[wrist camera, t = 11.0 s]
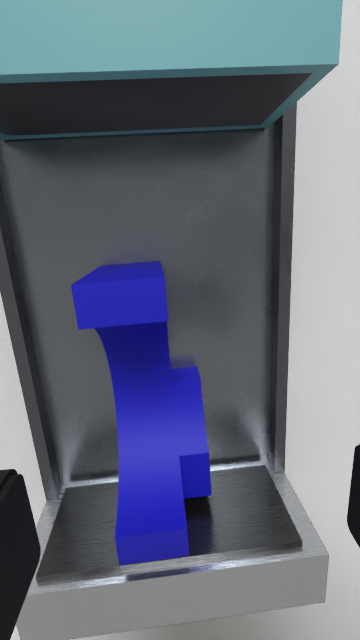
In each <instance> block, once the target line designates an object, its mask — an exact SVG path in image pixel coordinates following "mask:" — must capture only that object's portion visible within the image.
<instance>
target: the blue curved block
mask: <svg viewBox="0 0 360 640" xmlns="http://www.w3.org/2000/svg"><path fill="white" fill-rule="evenodd" d="M71 289H72V295H73V301H74V307H75V313H76V318H77V324H78V330H81V329H91V328H94V329H95V330H96V331H97V333H98V335H99V337H100V339H101V341H102V344H103V346H104V349H105V352H106V356H107V360H108V364H109V368H110V373H111V379H112V385H113V392H114V399H115V408H116V419H117V434H118V505H117V519H116V530H115V544H116V550H117V556H118V561H119V566H120V565H127V564H134V563H142V562H149V561H156V560H163V559H170V558H177V557H184V556H190V555H189V544H188V533H187V523H186V514H185V505H184V499H186V498H194V497H202V496H209V495H212V494H211V477H210V461H209V449H208V442H207V435H206V427H205V419H204V410H203V401H202V389H201V378H200V375H199V372H198V369H197V366H196V367H186V368H177V369H171V367H170V356H169V344H168V330H167V321H168V311H167V300H166V289H165V278H164V273H163V270H162V266H161V262H160V261H151V262H139V263H127V264H116V265H104V266H99V267H98V268H96V269H95V270H93V271H92V272H90V273H89V274H87V275H85V276H84V277H82V278H81V279H79V280H78V281H76V282H75V283H73V284H72V285H71Z"/></svg>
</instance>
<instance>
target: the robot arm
mask: <svg viewBox="0 0 360 640" xmlns="http://www.w3.org/2000/svg"><path fill="white" fill-rule="evenodd" d="M347 522H348V527H349V530H350V532H351V534H352V536H353V537H354V539H355V541H356V542H357V544H358V545H359V547H360V445H358V446H356V447H355V452H354V461H353V470H352V479H351V488H350V497H349V506H348V515H347ZM40 553H41V548H40V543H39V539H38V535H37V531H36V527H35V523H34V519H33V514H32V510H31V506H30V502H29V498H28V494H27V490H26V486H25V482H24V478H23V476H22V475H21V474H17V471H16V470H15V469H9V470H0V640H10V638H11V635H12V633H13V630H14V627H15V625H16V622H17V619H18V617H19V614H20V611H21V609H22V606H23V603H24V601H25V598H26V595H27V593H28V590H29V587H30V585H31V582H32V579H33V577H34V574H35V571H36V569H37V566H38V563H39V560H40Z"/></svg>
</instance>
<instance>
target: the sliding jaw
mask: <svg viewBox="0 0 360 640" xmlns="http://www.w3.org/2000/svg"><path fill="white" fill-rule="evenodd" d="M342 1H343V0H0V140H10V139H33V138H55V137H77V136H100V135H122V134H144V133H167V132H189V131H211V130H234V129H256V128H268V127H269V126H270V125H271V124H273V123H274V122H275V121H276V120H277V119H278V118H279V117H280V116H281V115H282V114H284V113H285V112H286V111H287V110H288V109H289V108H290V107H291V106H292V105H294V104H295V103H296V102H297V101H298V100H299V99H300V98H301V97H302V96H303V95H305V94H306V93H307V92H308V91H309V90H310V89H311V88H312V87H313V86H315V85H316V84H317V83H318V82H319V81H320V80H321V79H322V78H323V77H325V76H326V75H327V74H328V73H329V72H330V71H331V70H332V69H333V68H334V67H336V66H337V65H338V64H339V48H340V32H341V16H342Z"/></svg>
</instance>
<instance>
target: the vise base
mask: <svg viewBox="0 0 360 640" xmlns="http://www.w3.org/2000/svg"><path fill="white" fill-rule="evenodd" d="M296 109H297V102H296V103H295V104H294V105H292V106H291V107H290V108H289V109H288V110H287V111H286V112H285V113H284V114H282V115H281V116H280V117H279V118H278V119H277V120H276V121H275V122H274V123H273V124H271V125H270V126H269V127H268V128H256V129H234V130H211V131H189V132H167V133H144V134H122V135H100V136H77V137H55V138H33V139H10V140H0V292H1V297H2V301H3V306H4V310H5V315H6V319H7V324H8V328H9V333H10V338H11V342H12V347H13V351H14V356H15V360H16V365H17V369H18V374H19V378H20V383H21V387H22V392H23V396H24V401H25V406H26V410H27V415H28V419H29V424H30V428H31V433H32V437H33V442H34V446H35V451H36V455H37V460H38V464H39V469H40V474H41V478H42V483H43V487H44V492H45V496H46V504H45V506H44V509H43V511H42V514H41V516H40V519H39V521H38V524H37V527H36V531H37V535H38V539H39V543H40V548H41V553H40V560H39V563H38V566H37V569H36V571H35V574H34V577H33V579H32V582H31V585H30V587H29V590H28V593H27V595H26V598H25V601H24V603H23V606H22V609H21V611H20V614H19V617H18V619H17V622H16V626H17V629H18V632H19V636H20V639H21V640H69V639H76V638H83V637H90V636H97V635H104V634H111V633H117V632H124V631H131V630H138V629H145V628H152V627H159V626H166V625H172V624H179V623H186V622H193V621H200V620H207V619H214V618H221V617H227V616H234V615H241V614H248V613H255V612H262V611H269V610H275V609H282V608H289V607H296V606H303V605H310V604H317V603H324V602H325V595H326V584H327V572H328V561H329V553H328V552H327V550H326V548H325V546H324V544H323V542H322V541H321V539H320V537H319V535H318V533H317V532H316V530H315V528H314V526H313V524H312V522H311V521H310V519H309V517H308V515H307V513H306V512H305V510H304V508H303V506H302V504H301V502H300V501H299V499H298V497H297V495H296V493H295V491H294V490H293V488H292V486H291V484H290V482H289V481H288V479H287V477H286V475H285V473H284V470H285V440H286V410H287V380H288V349H289V319H290V289H291V259H292V229H293V199H294V169H295V139H296ZM151 261H160V262H161V266H162V270H163V273H164V278H165V289H166V300H167V311H168V321H167V330H168V344H169V356H170V367H171V369H177V368H186V367H196V366H197V369H198V372H199V375H200V378H201V389H202V401H203V410H204V419H205V427H206V435H207V442H208V449H209V461H210V477H211V494H212V495H209V496H202V497H194V498H186V499H184V505H185V514H186V523H187V533H188V544H189V555H190V556H184V557H177V558H170V559H163V560H156V561H149V562H142V563H134V564H127V565H120V566H119V561H118V556H117V550H116V544H115V530H116V519H117V505H118V434H117V419H116V408H115V399H114V392H113V385H112V379H111V373H110V368H109V364H108V360H107V356H106V352H105V349H104V346H103V344H102V341H101V339H100V337H99V335H98V333H97V331H96V330H95V329H94V328H91V329H81V330H78V324H77V318H76V313H75V307H74V301H73V295H72V289H71V285H72V284H73V283H75V282H76V281H78V280H79V279H81V278H82V277H84V276H85V275H87V274H89V273H90V272H92V271H93V270H95V269H96V268H98V267H99V266H104V265H116V264H127V263H139V262H151Z"/></svg>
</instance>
